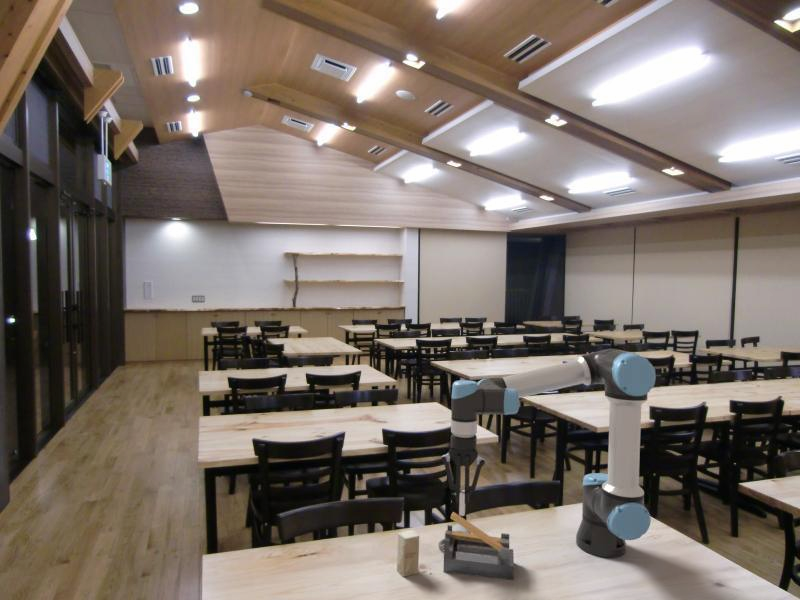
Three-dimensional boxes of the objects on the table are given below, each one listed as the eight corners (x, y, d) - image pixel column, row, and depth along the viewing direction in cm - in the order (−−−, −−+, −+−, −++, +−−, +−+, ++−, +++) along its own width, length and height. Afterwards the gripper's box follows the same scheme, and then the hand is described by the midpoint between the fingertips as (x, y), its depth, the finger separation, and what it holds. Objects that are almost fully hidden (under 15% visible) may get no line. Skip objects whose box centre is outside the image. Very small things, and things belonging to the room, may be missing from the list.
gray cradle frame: (513, 562, 159) (513, 534, 159) (513, 580, 149) (514, 550, 149) (447, 554, 163) (447, 527, 163) (443, 571, 153) (444, 542, 153)
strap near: (506, 553, 153) (509, 548, 153) (506, 557, 151) (509, 552, 151) (450, 515, 156) (453, 510, 156) (449, 519, 154) (453, 514, 154)
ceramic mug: (471, 544, 170) (471, 521, 170) (471, 557, 162) (471, 532, 162) (439, 542, 172) (439, 519, 172) (437, 554, 164) (437, 530, 163)
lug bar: (455, 543, 163) (455, 525, 163) (452, 559, 153) (452, 540, 153) (447, 542, 163) (447, 524, 163) (443, 558, 153) (444, 539, 153)
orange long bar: (508, 543, 158) (508, 537, 158) (508, 547, 156) (508, 541, 156) (445, 534, 162) (445, 529, 162) (444, 538, 160) (445, 532, 160)
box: (403, 577, 150) (403, 538, 150) (396, 570, 154) (396, 532, 154) (419, 572, 153) (419, 535, 152) (412, 565, 156) (412, 529, 156)
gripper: (486, 432, 156) (485, 510, 157) (443, 429, 159) (441, 506, 159) (485, 439, 149) (483, 521, 149) (440, 435, 151) (438, 516, 152)
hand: (462, 513), depth 154 cm, fingers closed
